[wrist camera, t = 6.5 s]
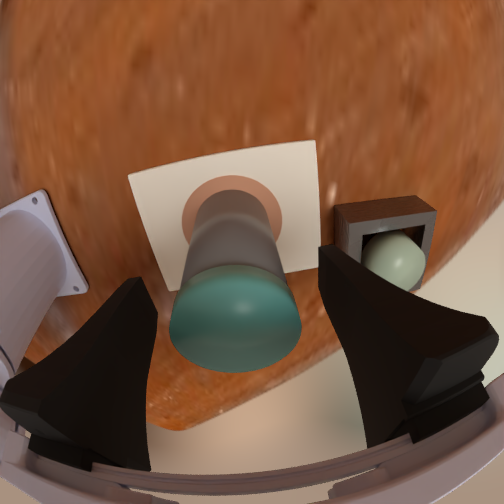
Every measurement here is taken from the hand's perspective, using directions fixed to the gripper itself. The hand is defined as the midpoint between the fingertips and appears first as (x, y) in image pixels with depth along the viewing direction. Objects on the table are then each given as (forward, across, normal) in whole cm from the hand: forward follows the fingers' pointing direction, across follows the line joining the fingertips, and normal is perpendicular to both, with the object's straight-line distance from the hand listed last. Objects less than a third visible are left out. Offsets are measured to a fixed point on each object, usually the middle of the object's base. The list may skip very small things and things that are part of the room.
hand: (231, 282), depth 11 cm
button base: (+6, -9, +3) cm, 11 cm away
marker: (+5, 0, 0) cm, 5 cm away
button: (+4, -9, +3) cm, 10 cm away
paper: (+6, 0, 0) cm, 6 cm away
